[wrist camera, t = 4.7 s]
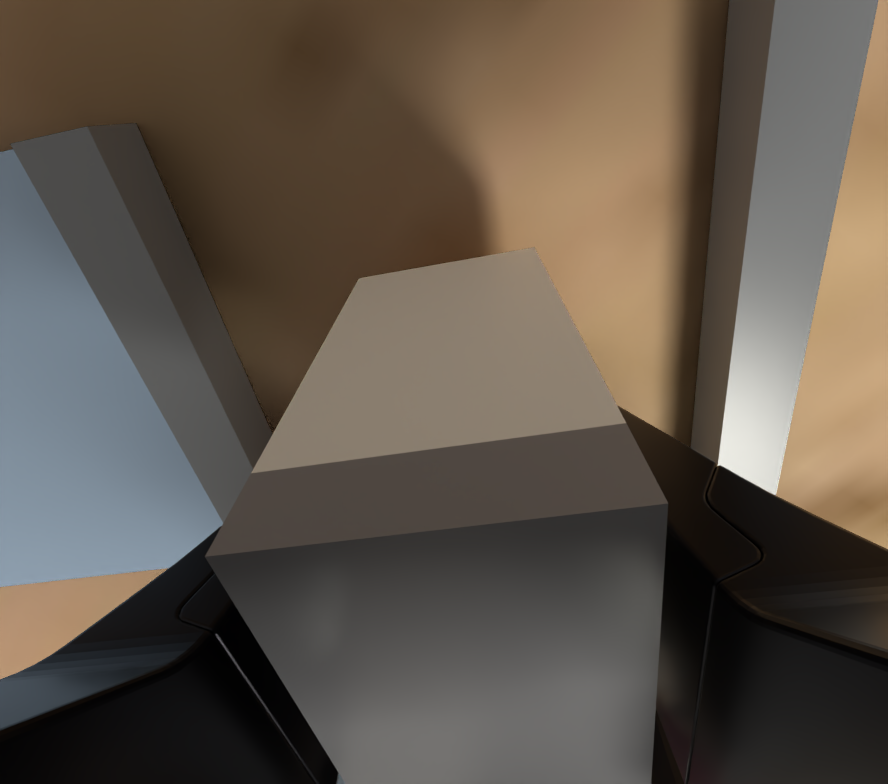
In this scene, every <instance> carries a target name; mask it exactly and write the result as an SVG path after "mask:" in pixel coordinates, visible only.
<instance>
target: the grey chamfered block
mask: <svg viewBox="0 0 888 784" xmlns="http://www.w3.org/2000/svg"><path fill="white" fill-rule="evenodd" d="M667 517H668V502H667V500H666V498H665V496H664V494H663V492H662V490H661V489H660V487H659V485H658V483H657V481H656V479H655V477H654V475H653V473H652V471H651V469H650V467H649V466H648V464H647V462H646V460H645V458H644V456H643V454H642V452H641V450H640V448H639V446H638V445H637V443H636V441H635V439H634V437H633V435H632V433H631V431H630V429H629V427H628V425H627V424H626V422H625V420H624V418H623V416H622V414H621V412H620V410H619V408H618V406H617V404H616V402H615V401H614V399H613V397H612V395H611V393H610V391H609V389H608V387H607V385H606V383H605V381H604V380H603V378H602V376H601V374H600V372H599V370H598V368H597V366H596V364H595V362H594V360H593V359H592V357H591V355H590V353H589V351H588V349H587V347H586V345H585V343H584V341H583V339H582V337H581V336H580V334H579V332H578V330H577V328H576V326H575V324H574V322H573V320H572V318H571V316H570V315H569V313H568V311H567V309H566V307H565V305H564V303H563V301H562V299H561V297H560V295H559V294H558V292H557V290H556V288H555V286H554V284H553V282H552V280H551V278H550V276H549V274H548V272H547V271H546V269H545V267H544V265H543V263H542V261H541V259H540V257H539V255H538V253H537V251H536V250H535V248H534V247H533V248H528V249H522V250H516V251H511V252H505V253H499V254H494V255H488V256H482V257H477V258H471V259H465V260H460V261H454V262H448V263H443V264H437V265H431V266H426V267H420V268H414V269H409V270H403V271H397V272H392V273H386V274H380V275H375V276H369V277H363V278H359V279H358V281H357V283H356V284H355V286H354V288H353V290H352V292H351V294H350V295H349V297H348V299H347V301H346V303H345V304H344V306H343V308H342V310H341V312H340V313H339V315H338V317H337V319H336V321H335V322H334V324H333V326H332V328H331V330H330V331H329V333H328V335H327V337H326V339H325V341H324V342H323V344H322V346H321V348H320V350H319V351H318V353H317V355H316V357H315V359H314V360H313V362H312V364H311V366H310V368H309V369H308V371H307V373H306V375H305V377H304V378H303V380H302V382H301V384H300V386H299V387H298V389H297V391H296V393H295V395H294V397H293V398H292V400H291V402H290V404H289V406H288V407H287V409H286V411H285V413H284V415H283V416H282V418H281V420H280V422H279V424H278V425H277V427H276V429H275V431H274V433H273V434H272V436H271V438H270V440H269V442H268V444H267V445H266V447H265V449H264V451H263V453H262V454H261V456H260V458H259V460H258V462H257V463H256V465H255V467H254V469H253V471H252V472H251V474H250V476H249V478H248V480H247V481H246V483H245V485H244V487H243V489H242V491H241V492H240V494H239V496H238V498H237V500H236V501H235V503H234V505H233V507H232V509H231V510H230V512H229V514H228V516H227V518H226V519H225V521H224V523H223V525H222V527H221V528H220V530H219V532H218V534H217V536H216V538H215V539H214V541H213V543H212V545H211V547H210V548H209V550H208V552H207V554H206V556H205V558H206V559H207V561H208V563H209V564H210V566H211V567H212V569H213V571H214V572H215V574H216V576H217V577H218V579H219V580H220V582H221V584H222V585H223V587H224V588H225V590H226V592H227V593H228V595H229V596H230V598H231V600H232V601H233V603H234V605H235V606H236V608H237V609H238V611H239V613H240V614H241V616H242V617H243V619H244V621H245V622H246V624H247V626H248V627H249V629H250V630H251V632H252V634H253V635H254V637H255V638H256V640H257V642H258V643H259V645H260V647H261V648H262V650H263V651H264V653H265V655H266V656H267V658H268V659H269V661H270V663H271V664H272V666H273V668H274V669H275V671H276V672H277V674H278V676H279V677H280V679H281V680H282V682H283V684H284V685H285V687H286V689H287V690H288V692H289V693H290V695H291V697H292V698H293V700H294V701H295V703H296V705H297V706H298V708H299V710H300V711H301V713H302V714H303V716H304V718H305V719H306V721H307V722H308V724H309V726H310V727H311V729H312V731H313V732H314V734H315V735H316V737H317V739H318V740H319V742H320V743H321V745H322V747H323V748H324V750H325V751H326V753H327V755H328V756H329V758H330V760H331V761H332V763H333V764H334V766H335V768H336V769H337V771H338V772H339V774H340V776H341V777H342V779H343V781H344V782H345V784H651V778H652V761H653V745H654V729H655V713H656V696H657V680H658V664H659V647H660V631H661V615H662V598H663V582H664V566H665V549H666V533H667Z"/></svg>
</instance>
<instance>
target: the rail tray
mask: <svg viewBox="0 0 888 784" xmlns="http://www.w3.org/2000/svg"><path fill="white" fill-rule="evenodd" d="M877 5H878V0H729V10H728V22H727V34H726V45H725V57H724V68H723V80H722V91H721V103H720V115H719V126H718V138H717V149H716V161H715V173H714V184H713V196H712V207H711V219H710V230H709V242H708V254H707V265H706V277H705V288H704V300H703V312H702V323H701V335H700V346H699V358H698V369H697V381H696V393H695V404H694V416H693V427H692V439H691V448H692V449H693V450H695V451H697V452H699V453H700V454H702V455H704V456H706V457H707V458H709V459H711V460H713V461H714V462H716V463H717V465H718V466H719V465H721V466H723V467H725V468H727V469H728V470H730V471H732V472H734V473H735V474H737V475H739V476H741V477H742V478H744V479H746V480H748V481H750V482H751V483H753V484H755V485H757V486H759V487H761V488H762V489H764V490H766V491H768V492H770V493H772V494H773V495H776V492H777V487H778V482H779V478H780V473H781V468H782V463H783V458H784V454H785V449H786V444H787V439H788V434H789V429H790V425H791V420H792V415H793V410H794V405H795V400H796V396H797V391H798V386H799V381H800V376H801V371H802V367H803V362H804V357H805V352H806V347H807V342H808V338H809V333H810V328H811V323H812V318H813V314H814V309H815V304H816V299H817V294H818V289H819V285H820V280H821V275H822V270H823V265H824V260H825V256H826V251H827V246H828V241H829V236H830V231H831V227H832V222H833V217H834V212H835V207H836V202H837V198H838V193H839V188H840V183H841V178H842V174H843V169H844V164H845V159H846V154H847V149H848V145H849V140H850V135H851V130H852V125H853V120H854V116H855V111H856V106H857V101H858V96H859V91H860V87H861V82H862V77H863V72H864V67H865V62H866V58H867V53H868V48H869V43H870V38H871V34H872V29H873V24H874V19H875V14H876V9H877ZM10 145H11V146H12V148H13V149H12V150H7V151H3V152H0V587H4V586H13V585H22V584H31V583H40V582H49V581H57V580H66V579H75V578H84V577H93V576H102V575H111V574H120V573H128V572H137V571H146V570H155V569H164V568H170V567H171V566H172V565H174V564H175V563H176V562H178V561H179V560H180V559H181V558H183V557H184V556H185V555H186V554H188V553H189V552H190V551H191V550H193V549H194V548H195V547H196V546H197V545H199V544H200V543H201V542H202V541H204V540H205V539H206V538H207V537H208V536H210V535H211V534H212V533H213V532H214V531H215V530H217V529H218V528H219V527H220V526H222V525H223V523H224V521H225V519H226V518H227V516H228V514H229V512H230V510H231V509H232V507H233V505H234V503H235V501H236V500H237V498H238V496H239V494H240V492H241V491H242V489H243V487H244V485H245V483H246V481H247V480H248V478H249V476H250V474H251V472H252V471H253V469H254V467H255V465H256V463H257V462H258V460H259V458H260V456H261V454H262V453H263V451H264V449H265V447H266V445H267V444H268V442H269V440H270V438H271V436H272V432H271V430H270V428H269V425H268V423H267V421H266V418H265V416H264V414H263V412H262V409H261V407H260V405H259V403H258V400H257V398H256V396H255V393H254V391H253V389H252V387H251V384H250V382H249V380H248V377H247V375H246V373H245V371H244V368H243V366H242V364H241V361H240V359H239V357H238V355H237V352H236V350H235V348H234V345H233V343H232V341H231V339H230V336H229V334H228V332H227V329H226V327H225V325H224V323H223V320H222V318H221V316H220V314H219V311H218V309H217V307H216V304H215V302H214V300H213V298H212V295H211V293H210V291H209V288H208V286H207V284H206V282H205V279H204V277H203V275H202V272H201V270H200V268H199V266H198V263H197V261H196V259H195V256H194V254H193V252H192V250H191V247H190V245H189V243H188V240H187V238H186V236H185V234H184V231H183V229H182V227H181V225H180V222H179V220H178V218H177V215H176V213H175V211H174V209H173V206H172V204H171V202H170V199H169V197H168V195H167V193H166V190H165V188H164V186H163V183H162V181H161V179H160V177H159V174H158V172H157V170H156V167H155V165H154V163H153V161H152V158H151V156H150V154H149V151H148V149H147V147H146V145H145V142H144V140H143V138H142V136H141V133H140V131H139V129H138V126H137V124H136V123H129V124H114V125H100V126H87V127H82V128H78V129H73V130H69V131H64V132H60V133H56V134H51V135H47V136H42V137H38V138H33V139H29V140H25V141H20V142H16V143H11V144H10Z"/></svg>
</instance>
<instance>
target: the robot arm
mask: <svg viewBox="0 0 888 784" xmlns="http://www.w3.org/2000/svg"><path fill="white" fill-rule="evenodd" d="M618 408H619V410H620V412H621V414H622V416H623V418H624V420H625V422H626V424H627V425H628V427H629V429H630V431H631V433H632V435H633V437H634V439H635V441H636V443H637V445H638V446H639V448H640V450H641V452H642V454H643V456H644V458H645V460H646V462H647V464H648V466H649V467H650V469H651V471H652V473H653V475H654V477H655V479H656V481H657V483H658V485H659V487H660V489H661V490H662V492H663V494H664V496H665V498H666V500H667V502H668V517H667V533H666V549H665V566H664V582H663V598H662V615H661V631H660V647H659V664H658V680H657V696H656V713H655V729H654V745H653V761H652V778H651V784H888V549H886V548H884V547H881V546H879V545H877V544H875V543H873V542H871V541H869V540H867V539H865V538H862V537H860V536H858V535H856V534H854V533H852V532H850V531H848V530H846V529H843V528H841V527H839V526H837V525H835V524H833V523H831V522H829V521H827V520H824V519H822V518H820V517H818V516H816V515H814V514H812V513H810V512H808V511H806V510H804V509H802V508H800V507H798V506H796V505H794V504H792V503H790V502H788V501H786V500H784V499H782V498H780V497H778V496H776V495H773V494H772V493H770V492H768V491H766V490H764V489H762V488H761V487H759V486H757V485H755V484H753V483H751V482H750V481H748V480H746V479H744V478H742V477H741V476H739V475H737V474H735V473H734V472H732V471H730V470H728V469H727V468H725V467H723V466H721V465H719V466H718V465H717V463H716V462H714V461H713V460H711V459H709V458H707V457H706V456H704V455H702V454H700V453H699V452H697V451H695V450H693V449H692V448H690V447H688V446H687V445H685V444H683V443H681V442H680V441H678V440H676V439H674V438H673V437H671V436H669V435H668V434H666V433H664V432H662V431H661V430H659V429H657V428H655V427H654V426H652V425H650V424H649V423H647V422H645V421H643V420H642V419H640V418H638V417H636V416H635V415H633V414H631V413H630V412H628V411H626V410H624V409H623V408H621V407H619V406H618ZM221 527H222V526H220V527H219V528H218V529H217V530H215V531H214V532H213V533H212V534H211V535H210V536H208V537H207V538H206V539H205V540H204V541H202V542H201V543H200V544H199V545H197V546H196V547H195V548H194V549H193V550H191V551H190V552H189V553H188V554H186V555H185V556H184V557H183V558H181V559H180V560H179V561H178V562H176V563H175V564H174V565H172V566H171V567H170V568H169V569H167V570H166V571H165V572H163V573H162V574H161V575H159V576H158V577H157V578H155V579H154V580H153V581H151V582H150V583H149V584H147V585H146V586H145V587H143V588H142V589H141V590H139V591H138V592H137V593H135V594H134V595H133V596H131V597H130V598H129V599H127V600H126V601H125V602H123V603H122V604H120V605H119V606H118V607H116V608H115V609H114V610H112V611H111V612H110V613H108V614H107V615H106V616H104V617H103V618H102V619H100V620H99V621H98V622H96V623H95V624H93V625H92V626H91V627H89V628H88V629H87V630H85V631H84V632H83V633H81V634H80V635H79V636H77V637H76V638H75V639H73V640H72V641H70V642H69V643H68V644H66V645H65V646H64V647H62V648H61V649H59V650H58V651H56V652H55V653H53V654H52V655H50V656H49V657H47V658H45V659H43V660H42V661H40V662H38V663H37V664H35V665H33V666H31V667H29V668H26V669H24V670H22V671H20V672H18V673H16V674H13V675H11V676H8V677H5V678H3V679H0V784H336V783H337V778H338V771H337V769H336V768H335V766H334V764H333V763H332V761H331V760H330V758H329V756H328V755H327V753H326V751H325V750H324V748H323V747H322V745H321V743H320V742H319V740H318V739H317V737H316V735H315V734H314V732H313V731H312V729H311V727H310V726H309V724H308V722H307V721H306V719H305V718H304V716H303V714H302V713H301V711H300V710H299V708H298V706H297V705H296V703H295V701H294V700H293V698H292V697H291V695H290V693H289V692H288V690H287V689H286V687H285V685H284V684H283V682H282V680H281V679H280V677H279V676H278V674H277V672H276V671H275V669H274V668H273V666H272V664H271V663H270V661H269V659H268V658H267V656H266V655H265V653H264V651H263V650H262V648H261V647H260V645H259V643H258V642H257V640H256V638H255V637H254V635H253V634H252V632H251V630H250V629H249V627H248V626H247V624H246V622H245V621H244V619H243V617H242V616H241V614H240V613H239V611H238V609H237V608H236V606H235V605H234V603H233V601H232V600H231V598H230V596H229V595H228V593H227V592H226V590H225V588H224V587H223V585H222V584H221V582H220V580H219V579H218V577H217V576H216V574H215V572H214V571H213V569H212V567H211V566H210V564H209V563H208V561H207V559H206V558H205V556H206V554H207V552H208V550H209V548H210V547H211V545H212V543H213V541H214V539H215V538H216V536H217V534H218V532H219V530H220V528H221Z"/></svg>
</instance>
